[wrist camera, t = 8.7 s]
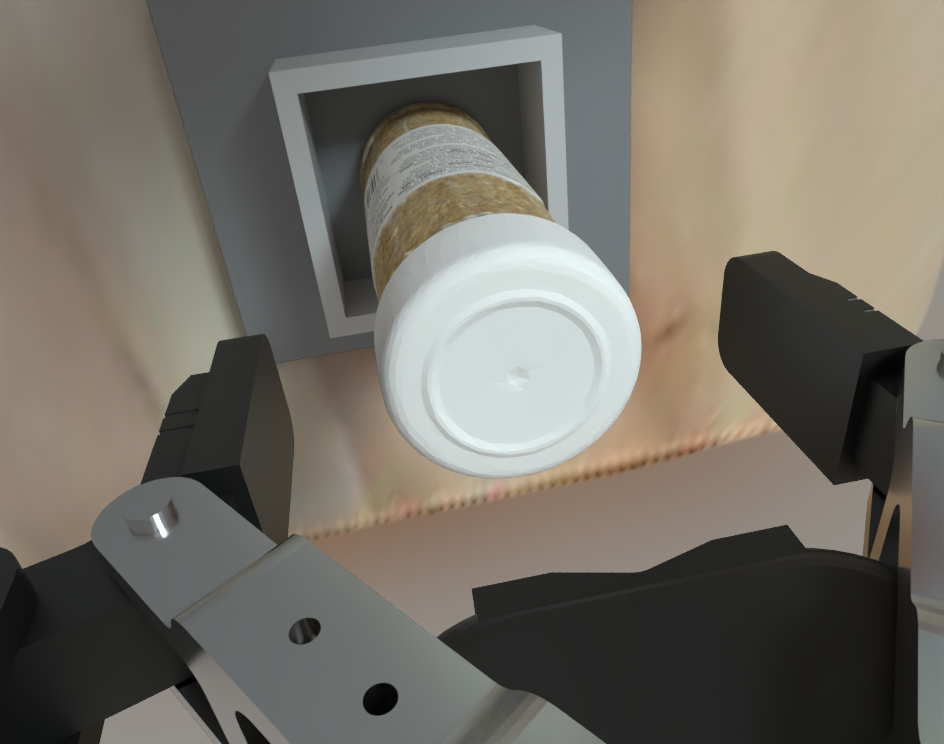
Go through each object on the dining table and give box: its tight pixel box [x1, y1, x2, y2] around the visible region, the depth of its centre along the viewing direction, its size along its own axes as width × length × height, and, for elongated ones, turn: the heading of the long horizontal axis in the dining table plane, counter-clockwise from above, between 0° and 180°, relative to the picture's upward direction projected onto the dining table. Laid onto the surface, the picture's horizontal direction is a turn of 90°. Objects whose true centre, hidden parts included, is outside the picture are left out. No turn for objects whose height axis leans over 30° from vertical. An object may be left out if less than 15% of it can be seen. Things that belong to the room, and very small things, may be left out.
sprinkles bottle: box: [359, 102, 641, 478], centre depth 18 cm, size 5×5×13 cm
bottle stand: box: [146, 0, 632, 363], centre depth 22 cm, size 12×14×4 cm
